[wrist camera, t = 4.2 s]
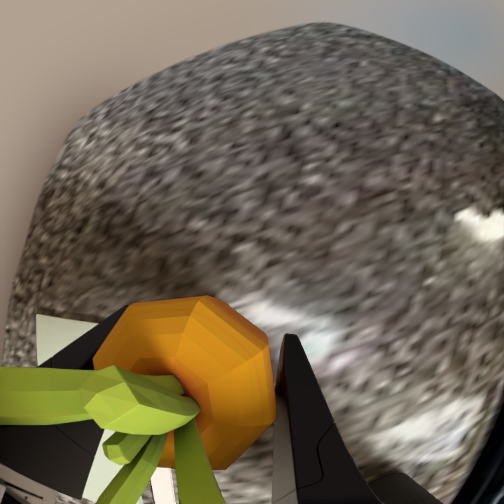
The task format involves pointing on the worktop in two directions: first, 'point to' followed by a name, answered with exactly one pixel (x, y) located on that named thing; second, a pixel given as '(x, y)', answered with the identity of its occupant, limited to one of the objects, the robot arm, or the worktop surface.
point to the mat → (48, 344)
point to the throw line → (163, 486)
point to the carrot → (160, 395)
